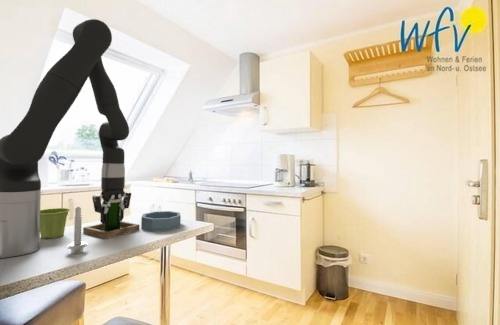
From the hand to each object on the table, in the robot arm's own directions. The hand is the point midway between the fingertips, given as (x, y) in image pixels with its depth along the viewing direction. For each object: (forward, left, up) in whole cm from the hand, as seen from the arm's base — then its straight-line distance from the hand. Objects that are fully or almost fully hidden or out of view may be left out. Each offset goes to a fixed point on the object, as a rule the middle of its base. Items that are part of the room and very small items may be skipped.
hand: (112, 221), depth 94 cm
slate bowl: (+15, -9, -3) cm, 18 cm away
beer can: (0, 0, -4) cm, 4 cm away
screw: (-18, -11, -4) cm, 21 cm away
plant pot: (-14, +11, -4) cm, 18 cm away
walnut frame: (0, 0, -3) cm, 3 cm away
